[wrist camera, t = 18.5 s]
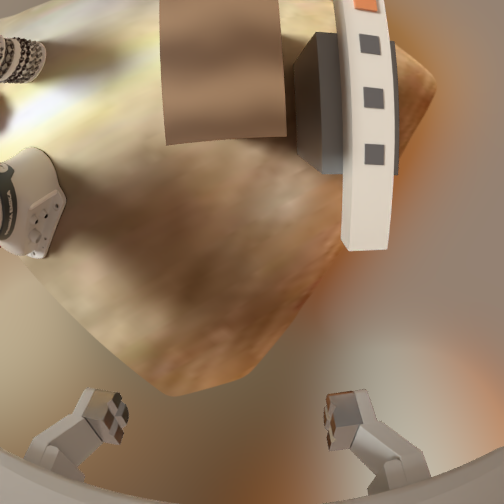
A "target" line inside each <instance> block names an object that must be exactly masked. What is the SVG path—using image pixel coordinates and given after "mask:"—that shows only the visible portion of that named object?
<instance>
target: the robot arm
mask: <svg viewBox="0 0 504 504" xmlns="http://www.w3.org/2000/svg"><path fill="white" fill-rule="evenodd" d="M57 204H58V205H59V207H58V206H57ZM65 204H66V197H65V195H64V193H63V191H62V190H61V188H60V186H59V183H58V179H57V175H56V171H55V169H54V166H53V164H52V162H51V160H50V159H49V158H48V156H47V155H46V154H45V153H44V152H42V151H41V150H39V149H37V148H32V147H30V148H25V149H23V150H21V151H20V152H19V153H17V154H16V155H15V156H13V157H11V158H10V159H8V160H6V161H4V162H2V163H0V248H1V247H3V248H4V249H5V250H7V251H9V252H11V253H13V254H15V255H19V256H24V255H27V256H30V257H32V258H43V257H45V256H46V254H47V251H48V248H49V246H50V243H51V240H52V237H53V234H54V232H55V229H56V226H57V224H58V221H59V219H60V216H61V214H62V211H63V209H64V207H65ZM121 400H122V397H121V395H120V393H118V392H111V391H106V390H100V389H95V388H89V387H87V388H86V389H85V390H84V392H83V393H82V395H81V398H80V399H79V401H78V403H77V405H76V408H75V409H74V411H73V413H72V415H71V414H69V415H67V416H66V417H64V418H63V419H61V420H60V421H58V422H57V423H55V424H54V425H52V426H51V427H49V428H48V429H46V430H45V431H43V432H42V433H41V434H39V435H37V436H36V437H34V438H33V440H32V442H31V444H30V446H29V448H28V450H27V452H26V454H25V456H24V459H22V458H20V457H18V456H16V455H14V454H12V453H10V452H8V451H6V450H4V449H2V448H0V504H176V503H169V502H162V501H156V500H151V499H145V498H140V497H135V496H130V495H126V494H122V493H118V492H114V491H110V490H106V489H102V488H99V487H96V486H93V485H89V484H86V483H83V481H84V478H85V476H84V474H83V473H82V472H81V471H80V470H79V469H78V468H77V467H78V466H79V465H80V464H81V463H82V462H83V461H84V460H85V459H86V458H87V457H89V456H90V455H91V454H92V453H93V452H94V451H95V450H96V449H97V448H98V447H99V446H100V445H101V444H102V443H103V442H105V443H111V444H116V445H120V443H121V440H122V438H123V434H124V432H123V430H122V428H123V427H125V426H126V425H127V422H128V419H129V412H128V408H127V406H126V404H124V403H123V402H122V401H121ZM326 404H327V405H326V406H325V407H324V416H323V417H324V426H325V429H326V430H327V431H328V433H327V443H328V448H329V451H335V450H343V449H350V450H351V451H352V452H353V453H354V454H355V455H356V456H357V457H358V458H359V459H360V460H361V461H362V462H363V463H364V464H365V465H366V466H367V467H368V468H369V469H370V470H371V471H372V472H373V473H374V474H375V475H376V477H375V478H374V480H373V481H372V483H371V484H370V485H369V487H368V488H367V489H368V496H364V497H359V498H354V499H349V500H343V501H337V502H330V503H323V504H504V447H500V448H498V449H495V450H494V451H492V452H490V453H488V454H486V455H484V456H482V457H480V458H477V459H475V460H473V461H471V462H469V463H467V464H464V465H462V466H460V467H457V468H455V469H452V470H450V471H447V472H445V473H442V474H439V475H437V476H434V477H431V475H430V472H429V469H428V466H427V463H426V461H425V458H424V455H423V452H422V451H421V450H420V449H418V448H417V447H415V446H414V445H413V444H411V443H410V442H409V441H407V440H406V439H404V438H403V437H402V436H400V435H399V434H398V433H397V432H395V431H394V430H392V429H391V428H390V427H388V426H387V425H386V424H385V423H383V422H382V421H377V418H376V415H375V412H374V409H373V406H372V403H371V401H370V398H369V395H368V392H367V390H366V389H362V390H356V391H347V392H340V393H333V394H328V395H327V396H326Z"/></svg>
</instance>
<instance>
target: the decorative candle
mask: <svg viewBox="0 0 504 504" xmlns="http://www.w3.org/2000/svg"><path fill="white" fill-rule="evenodd" d="M45 61H46V49H45V46H44V45H43V44H42V43H39V42H36V41H32V42H31V40H28V41H27V40H26V39H20V38H19V37H18V38H15V37H14V38H3V36H2V35H0V83H2V82H3V83H7V82H8V83H28V82H31V81H33V80H34V79H35V78H37V76H38V75H39V74H40V72H41V71H42V69H43V66H44V64H45Z"/></svg>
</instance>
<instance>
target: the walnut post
mask: <svg viewBox="0 0 504 504" xmlns="http://www.w3.org/2000/svg"><path fill="white" fill-rule="evenodd" d="M159 14H160V61H161V82H162V99H163V113H164V125H165V137H166V145H174V144H183V143H192V142H202V141H212V140H225V139H239V138H258V137H287V128H286V106H285V87H284V70H283V55H282V41H281V28H280V16H279V4H278V0H160V8H159Z"/></svg>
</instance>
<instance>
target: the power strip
mask: <svg viewBox="0 0 504 504" xmlns="http://www.w3.org/2000/svg"><path fill="white" fill-rule="evenodd" d="M333 4H334V11H335V20H336V29H337V38H338V49H339V61H340V76H341V93H342V118H343V199H342V225H341V240H342V242H343V243H344V245H345V246H346V248H347V249H348V251H362V250H383V249H387V246H388V238H389V229H390V219H391V207H392V193H393V177H394V145H395V120H394V89H393V73H392V60H391V50H390V41H389V33H388V25H387V18H386V11H385V5H384V0H333Z"/></svg>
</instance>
